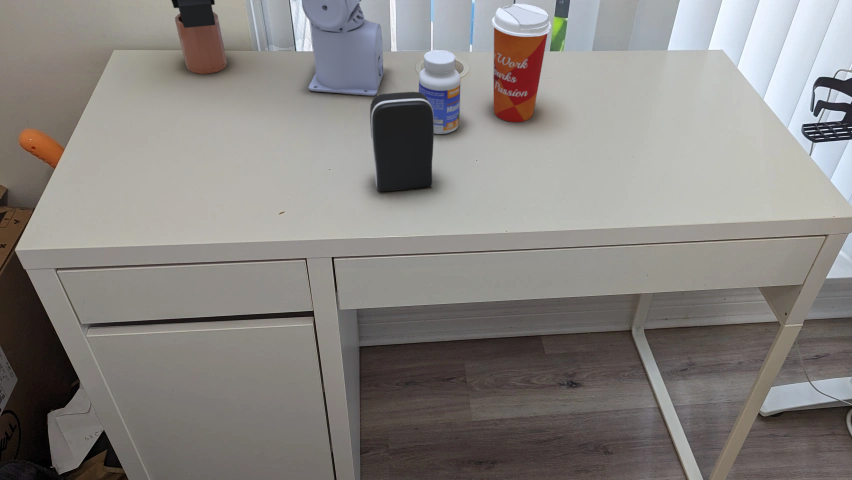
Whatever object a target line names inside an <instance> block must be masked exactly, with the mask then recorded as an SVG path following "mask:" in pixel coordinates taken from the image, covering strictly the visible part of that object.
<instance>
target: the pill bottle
mask: <svg viewBox="0 0 852 480" xmlns="http://www.w3.org/2000/svg"><path fill="white" fill-rule="evenodd" d="M456 62H457V61H456V55H455V54H454V53H453V52H451V51H449V50H443V49H433V50H429V51H426V53H424V55H423V69H421V71H420V72H419V74H418V92H420V93H422V94H424V95H425V96H426V98H427V99H428V101H429V103H430V104H431V106H432V109H433V114H434V135H435V134H436V135H444V134H450V133H452V132H454V131H456V130H457V129H458V128H459V125H460V112H461V110H460V109H461V75H460V73H459V72H458V71H457V69H456V65H457V63H456Z"/></svg>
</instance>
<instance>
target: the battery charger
mask: <svg viewBox="0 0 852 480" xmlns="http://www.w3.org/2000/svg"><path fill="white" fill-rule="evenodd" d="M369 117H370V120H369V121H370V137H371V142H372V151H373V152H372V153H373V160H374V168H375V169H374V170H375V187H376V189H377V190H378V191H379V192H391V191H392V192H393V191H402V190H403V191H404V190H412V189H420V188H426V187H431V186H432V185H433V156H434V139H435V138H434V137H435V133H434V114H433V109H432V106H431V104H430V103H429V101H428V99H427V98H426V96H425V95H424V94H422V93H420V92H419V91H401V92H389V93H381V94H378V95H375V96H374V97H373V99H372V101H371V103H370V107H369Z"/></svg>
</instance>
